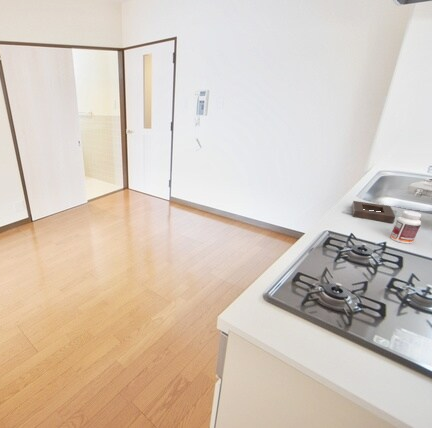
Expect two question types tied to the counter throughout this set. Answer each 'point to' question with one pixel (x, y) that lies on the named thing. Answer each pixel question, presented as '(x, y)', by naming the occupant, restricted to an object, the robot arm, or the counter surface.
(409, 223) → the pill bottle
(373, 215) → the holder
